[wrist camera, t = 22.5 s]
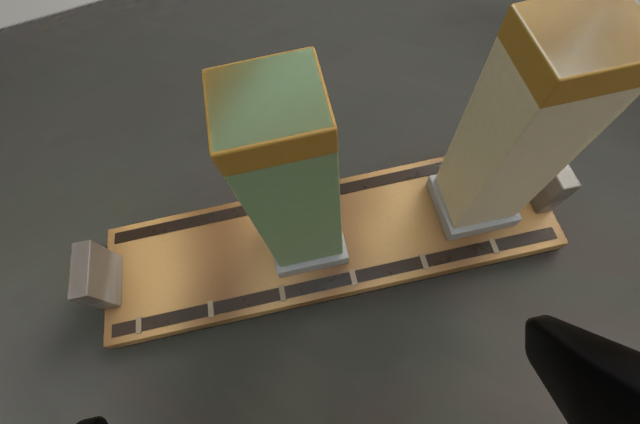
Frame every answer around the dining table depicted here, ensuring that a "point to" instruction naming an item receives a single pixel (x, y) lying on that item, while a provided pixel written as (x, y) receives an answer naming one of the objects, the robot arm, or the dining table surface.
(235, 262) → the score rail
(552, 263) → the dining table surface
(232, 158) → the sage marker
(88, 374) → the dining table surface
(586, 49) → the cream marker
